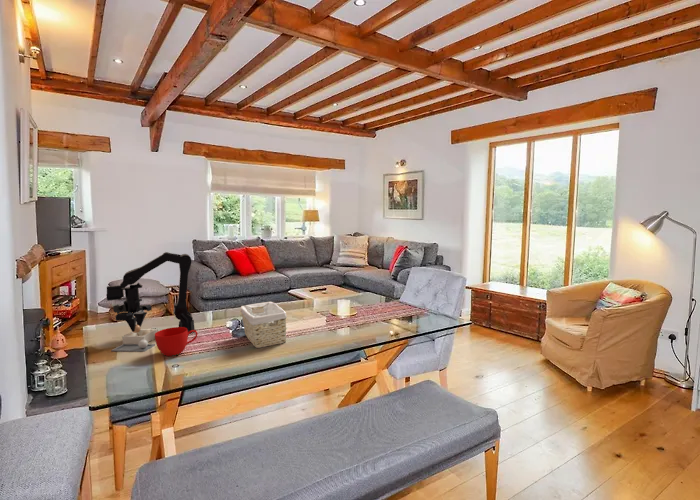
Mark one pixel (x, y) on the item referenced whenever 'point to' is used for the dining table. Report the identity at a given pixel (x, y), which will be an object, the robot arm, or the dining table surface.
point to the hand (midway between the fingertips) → (136, 329)
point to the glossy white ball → (143, 344)
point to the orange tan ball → (137, 329)
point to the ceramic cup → (173, 340)
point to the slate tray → (132, 348)
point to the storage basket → (264, 324)
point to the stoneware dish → (139, 336)
